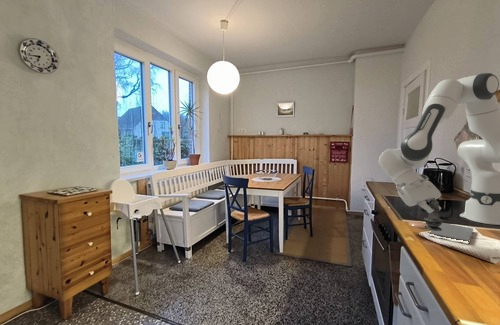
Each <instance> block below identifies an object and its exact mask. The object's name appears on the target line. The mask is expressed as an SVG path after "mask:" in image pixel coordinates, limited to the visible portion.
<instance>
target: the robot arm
mask: <svg viewBox="0 0 500 325" xmlns="http://www.w3.org/2000/svg"><path fill="white" fill-rule="evenodd" d="M499 86H500V82H499V78H498V76H496V75H495V74H493V73H491V72H486V73H483V72H482V73H478V74H475V75H469V76H464V77H460V78H459V79H454V78H447V79H443V80H441V81H440V82H438V83H437V84H436V85H435V86H434V87H433V89H432V90H431V92H430V93H429V96H428V97H427V99H426V100H425V103H424V106H423V108H422V111H421V118H420V120H419V121H418V123H417V125H416V126H415V128H414V130H413V131H412V132H411V133H410V134H407V136H405V138H403V140H402V141H401V143H400V148H387V149H384V151H382V152H381V153H380V155H379V157H378V159H377V162H378V165H379V166H380V168H381V170H382V171H383V172H384V173H385V174H386V175H387V176H388V177H390V178H391V180H392V182H393V184H395V186H396V187H395V188H396V191H397V194H398V196H399V197H400V198H401V201H403V203H404V204H405V205H406V206H408V207H414V206H417V205H418V206H419V207H420V208H422V209H423V210H425V211H426V212H427V213H428V214H429V213H432V212H434V209H433V208H432V207H430V206H429V204H428V203H429V202H430V201H431V200H433V198H435V200H436V201H437V200H438V199H439V198H440V197H441V196H442V193H441V191H440V189H438V187H437V186H435V184H433V183H432V182H431V181H430V180H429V177H428V176H427V175H425V174H421V173H419V172H416V171H415V170H417V169H420V168H423V167H424V166H425V165H426V164H427V163H428V161H429V158H430V154H431V151H432V150H433V138H432V137H433V135H434V133H435V131H436V129H437V128H438V126H439V124H442V123H445V122H448V120H449V119H450V118H451V117H452V115H453V114H454V112H455V110H456V108H457V107H458V105H460V104H461V105H462V104H464V106H465V109H464V110H465V114H466V120H467V125H468V129H469V131H470V132H472V133H474V134H476V135H478V136H479V137H480V139H479V138H478V139H477V138H476V139H469V140H466V141H461V143H460V144H459V145H458V147H457V151H456V152H457V155H458V157H459V158H460V159H461V160H462V161H464V162H465V164H467V166H468V168H469V170H470V173H471V189H470V192H469V197H470V198H469V199H466V200H465V205H464V206H465V207H464V211H463V212H462V213H460V214H459V217H461V218H465V219H467V220H469V221H472V222H476V223H482V224H487V225H495V226H496V225H497V226H500V171H498V170H496V169H495V167H494V165H493V164H500V106H499V105H500V104H499V101H498V97H497V96H496V93H497V92H498V90H499V88H500V87H499ZM439 210H440V211H441V210H442V207H441V206H440V205H439Z"/></svg>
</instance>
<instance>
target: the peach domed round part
mask: <svg viewBox="0 0 500 325" xmlns="http://www.w3.org/2000/svg"><path fill="white" fill-rule="evenodd" d="M408 226H410V227H412V228H416V229H426V228H425V226H427V224H426V222H423V221H422V222H421V221H418V220H417V221H416V220H415V221H414V220H413V221H411V220H410V221H409V222H408ZM426 230H427V229H426Z"/></svg>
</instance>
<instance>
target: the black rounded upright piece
mask: <svg viewBox="0 0 500 325" xmlns="http://www.w3.org/2000/svg"><path fill="white" fill-rule="evenodd" d="M428 203H429V204H428V206H430V207H432V208H433V209H434V212H432V213H428V215H427V216H424V217H423V220H424V223H426V224H427V226H425V228H426V230H429V231H431V230H433V231H441V230H442V229H441V228H440V227H439V226H440V225H441V224H442V223H444V219H441V218H440V216H439V214H440V213H439V212H440V211H441V209H440V210H439V206H440V204H439V201H438V200H437V199H436V200H435V198H433V200H431V201H430V202H428Z"/></svg>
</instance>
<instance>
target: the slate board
mask: <svg viewBox="0 0 500 325" xmlns="http://www.w3.org/2000/svg"><path fill="white" fill-rule="evenodd" d="M439 227H440V228H441V229H442V230H441V231H433V230H430V231H429V235H430V234H434V235H437V236H441V237H446V238H451V239H456V240H463V241H468V242H469V240H470V241H471V239H470V237H471V238H472V236H471V234H472V235H473V233H472V231H473V232H474V228H473V227H468V226H462V225H456V224H451V223H447V222H446V223H444V222H442V224H441V225H440V226H439ZM469 243H470V242H469Z"/></svg>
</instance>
